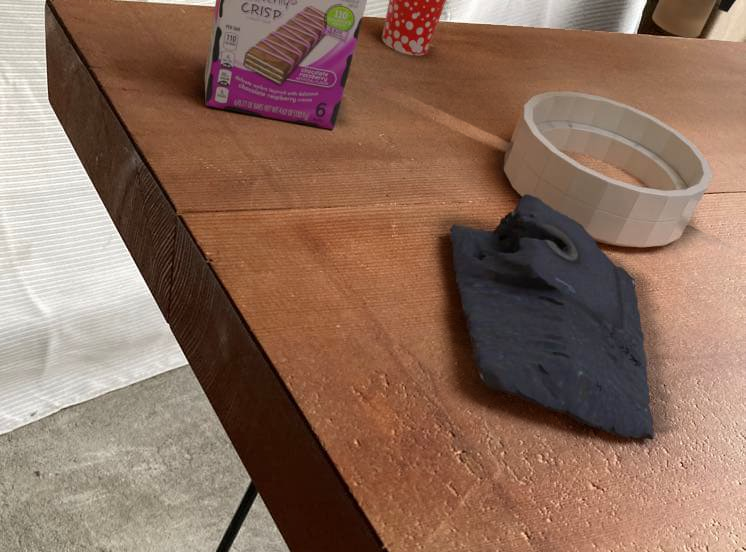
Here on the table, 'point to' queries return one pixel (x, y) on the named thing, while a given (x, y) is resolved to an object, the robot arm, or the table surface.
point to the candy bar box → (282, 57)
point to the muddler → (683, 16)
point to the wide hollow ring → (618, 147)
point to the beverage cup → (411, 25)
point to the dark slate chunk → (554, 319)
